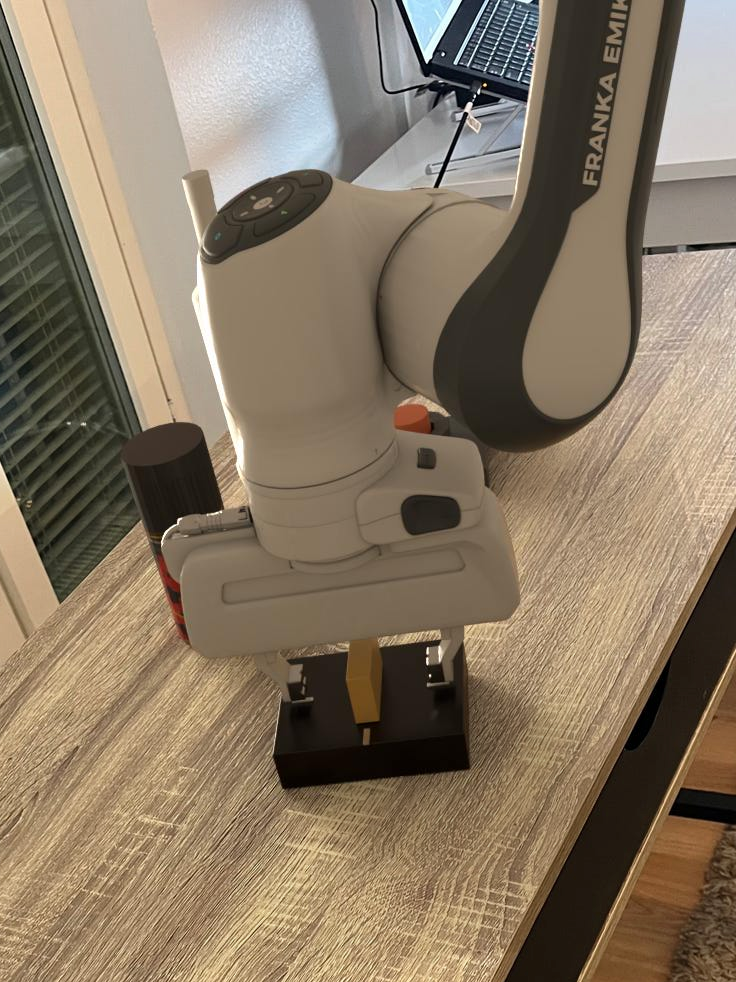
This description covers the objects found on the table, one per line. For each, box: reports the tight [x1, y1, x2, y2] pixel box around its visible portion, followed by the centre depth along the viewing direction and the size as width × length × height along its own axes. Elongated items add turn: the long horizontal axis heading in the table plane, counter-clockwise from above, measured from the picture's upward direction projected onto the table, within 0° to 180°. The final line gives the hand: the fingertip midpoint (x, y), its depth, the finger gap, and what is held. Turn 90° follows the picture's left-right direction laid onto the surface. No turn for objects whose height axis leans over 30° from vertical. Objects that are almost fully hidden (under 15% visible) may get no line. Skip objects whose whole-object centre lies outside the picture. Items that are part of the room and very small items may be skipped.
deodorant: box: [119, 421, 226, 646], centre depth 93 cm, size 6×6×15 cm
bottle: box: [181, 169, 243, 482], centre depth 104 cm, size 5×5×25 cm
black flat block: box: [271, 638, 471, 790], centre depth 83 cm, size 12×10×3 cm
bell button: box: [394, 403, 431, 434], centre depth 104 cm, size 4×4×2 cm
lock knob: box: [346, 638, 383, 724], centre depth 81 cm, size 6×2×4 cm, turn 174°
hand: (368, 686), depth 82 cm, fingers open, 8 cm apart
